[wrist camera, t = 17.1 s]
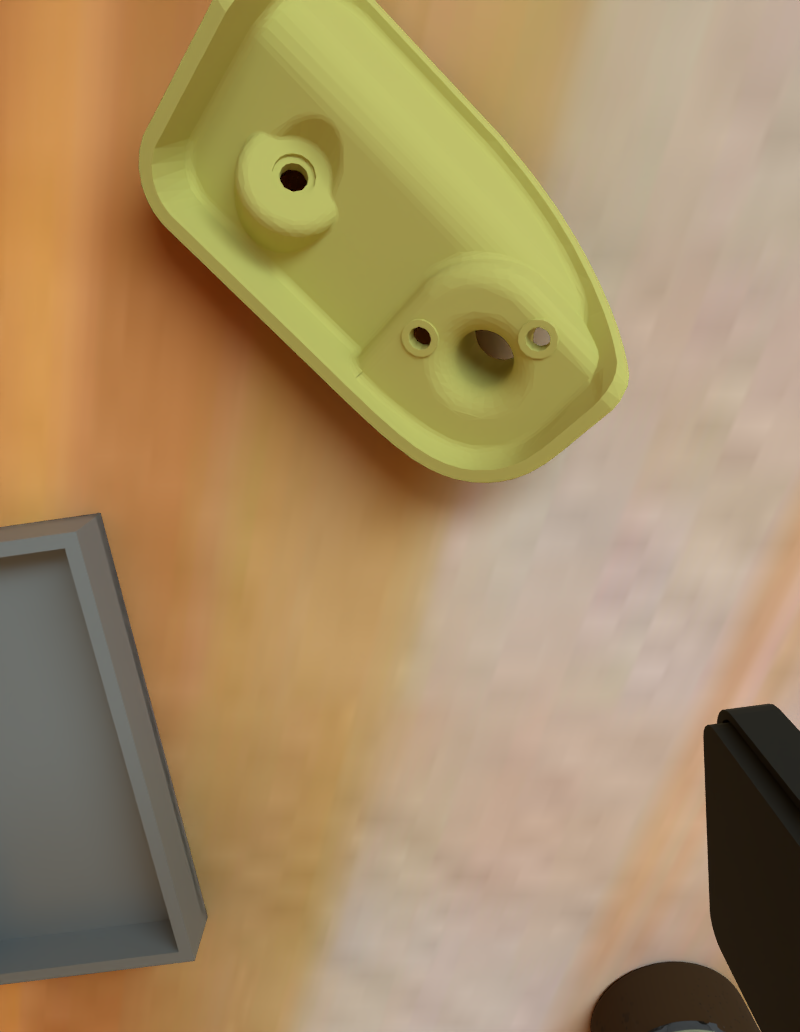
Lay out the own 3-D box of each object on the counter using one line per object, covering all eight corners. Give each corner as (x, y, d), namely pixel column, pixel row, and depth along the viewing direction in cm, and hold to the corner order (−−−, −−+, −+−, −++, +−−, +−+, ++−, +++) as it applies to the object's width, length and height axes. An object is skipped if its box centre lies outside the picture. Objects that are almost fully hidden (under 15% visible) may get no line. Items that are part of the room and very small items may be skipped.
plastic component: (118, 182, 30) (243, -62, 25) (215, 158, 36) (334, -43, 30) (470, 522, 33) (658, 375, 27) (507, 448, 39) (667, 314, 33)
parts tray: (-147, 548, 38) (-192, 569, 35) (100, 512, 37) (76, 531, 34) (-3, 943, 44) (-30, 988, 41) (207, 916, 44) (194, 960, 41)
